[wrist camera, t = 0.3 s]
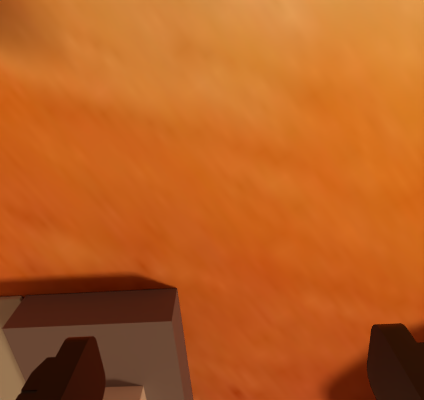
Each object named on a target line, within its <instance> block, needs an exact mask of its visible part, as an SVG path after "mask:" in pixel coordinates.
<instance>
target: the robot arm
mask: <svg viewBox="0 0 424 400" xmlns="http://www.w3.org/2000/svg"><path fill="white" fill-rule="evenodd" d="M367 373H368V378H369V382H370V385H371V388H372V390H373V393H374V395H375V397H376V399H377V400H424V343H417V342H416V341H415V339H414V338H413V336H412V335H411V333H410V332H409V331H408V329H407V328H406V326H404V325H403V324H401V323H399V324H377V325H373V326H372V329H371V336H370V344H369V352H368V360H367ZM105 385H106V377H105V371H104V367H103V363H102V359H101V356H100V352H99V348H98V344H97V340H96V338H95V337H94V336H86V337H68V338H66V339H65V340H64V342H63V344H62V346H61V348H60V349H59V351H58V353H57V355H56V357H47V358H46V359H45V360H44V361H43V362H42V363H41V364H40V365H39V366H38V367H37V368H36V369H35V370H34V371H33V372H32V373H31V374H30V376H29V378H28V379H27V381H26V383H25V384H24V386H23V388H22V389H21V393H20V394H19V395H18V396H17V398H16V400H103V397H104V392H105Z"/></svg>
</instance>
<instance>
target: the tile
mask: <svg viewBox="0 0 424 400" xmlns="http://www.w3.org/2000/svg"><path fill="white" fill-rule="evenodd" d="M103 400H146V396H145V392H144V387H143V386H125V387H105V392H104V397H103Z"/></svg>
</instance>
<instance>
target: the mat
mask: <svg viewBox="0 0 424 400" xmlns="http://www.w3.org/2000/svg"><path fill="white" fill-rule="evenodd" d="M22 300H23V298H22V296H7V297H0V400H16V398H17V396H18V395H19V394H20V393H21V389H22V388H23V386H24V384H25V383H26V382H25V380H24V378H23V375H22V373H21V371H20V369H19V366H18V364H17V362H16V360H15V357H14V355H13V353H12V351H11V348H10V346H9V344H8V342H7V339H6V337H5V335H4V333H3V330H2V328H3V326H4V325H5V324H6V322H7V321H8V320H9V318H10V317H11V315H12V314H13V313H14V311H15V310H16V308H17V307H18V306H19V304H20V303H21V302H22Z"/></svg>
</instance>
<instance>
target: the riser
mask: <svg viewBox="0 0 424 400" xmlns="http://www.w3.org/2000/svg"><path fill="white" fill-rule="evenodd" d="M2 330H3V333H4V335H5V337H6V339H7V342H8V344H9V346H10V348H11V351H12V353H13V355H14V357H15V360H16V362H17V364H18V366H19V369H20V371H21V373H22V375H23V378H24V380H25V382H26V381H27V379H28V378H29V376H30V374H31V373H32V372H33V371H34V370H35V369H36V368H37V367H38V366H39V365H40V364H41V363H42V362H43V361H44V360H45V359H46V358H47V357H56V355H57V353H58V351H59V349H60V348H61V346H62V344H63V342H64V340H65V339H66V338H68V337H86V336H94V337H95V338H96V340H97V344H98V348H99V352H100V356H101V359H102V363H103V367H104V371H105V377H106V385H105V387H125V386H143V387H144V392H145V396H146V400H193V395H192V388H191V381H190V374H189V367H188V361H187V354H186V347H185V340H184V333H183V326H182V319H181V313H180V306H179V299H178V292H177V288H172V289H152V290H131V291H110V292H90V293H69V294H48V295H27V296H25V297H24V299H23V300H22V302H21V303H20V304H19V306H18V307H17V308H16V310H15V311H14V313H13V314H12V315H11V317H10V318H9V320H8V321H7V322H6V324H5V325H4V326H3V328H2Z"/></svg>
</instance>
